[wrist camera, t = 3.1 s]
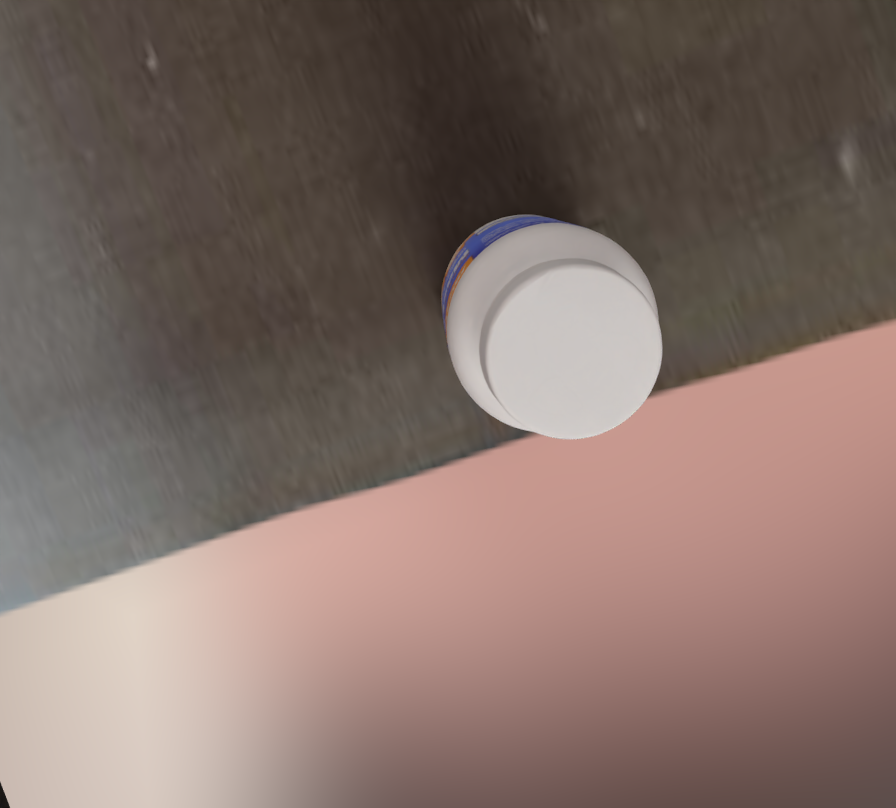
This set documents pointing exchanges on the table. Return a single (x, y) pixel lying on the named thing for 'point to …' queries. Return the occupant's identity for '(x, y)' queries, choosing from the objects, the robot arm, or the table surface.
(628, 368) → the pill bottle
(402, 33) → the table surface
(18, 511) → the table surface
